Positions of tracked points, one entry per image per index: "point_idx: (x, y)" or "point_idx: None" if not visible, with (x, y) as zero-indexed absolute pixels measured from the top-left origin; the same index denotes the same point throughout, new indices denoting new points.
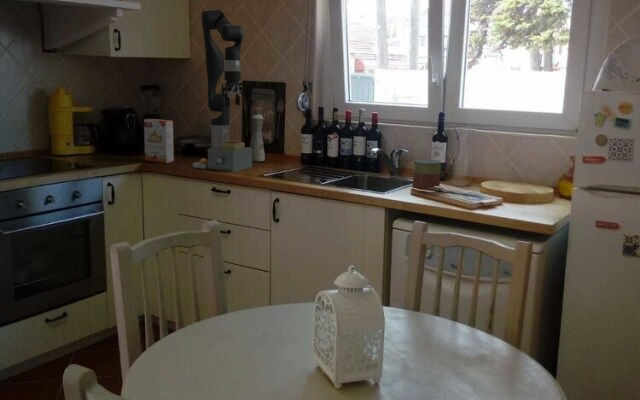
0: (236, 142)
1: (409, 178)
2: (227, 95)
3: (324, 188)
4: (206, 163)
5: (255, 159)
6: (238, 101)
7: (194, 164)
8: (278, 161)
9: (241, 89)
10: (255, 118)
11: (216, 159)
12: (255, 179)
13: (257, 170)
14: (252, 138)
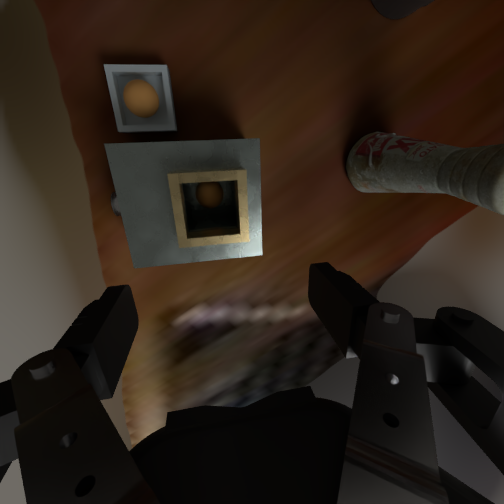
0: (238, 208)
1: None
2: (15, 456)
3: None
4: (143, 117)
5: (350, 176)
6: (321, 315)
7: (106, 75)
8: (397, 212)
9: (492, 460)
10: (493, 190)
11: (111, 198)
12: None
13: (232, 261)
14: (410, 160)
